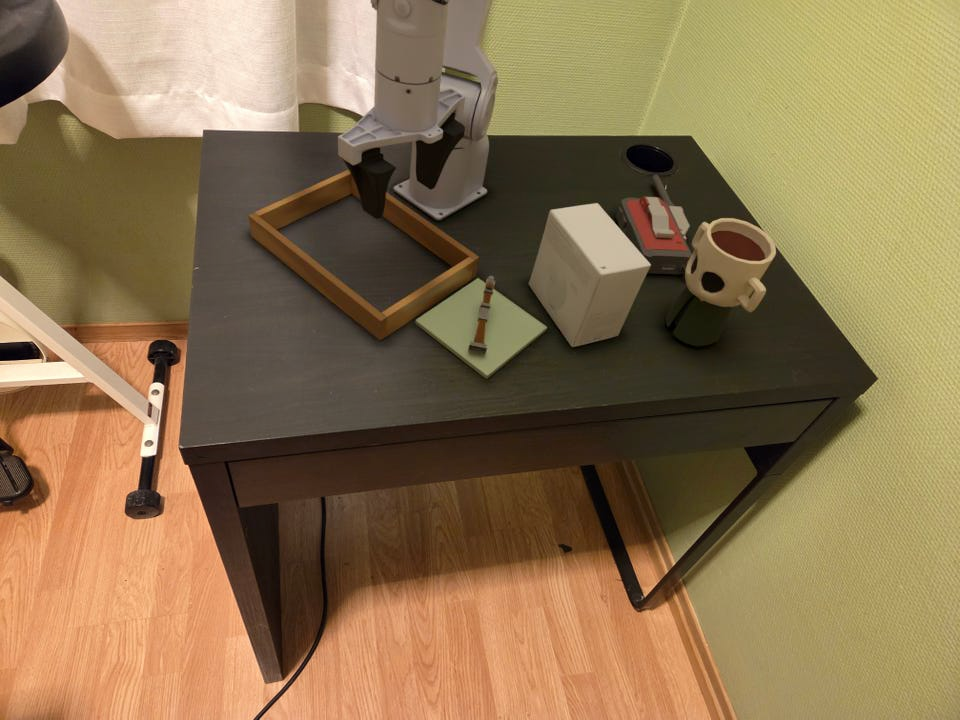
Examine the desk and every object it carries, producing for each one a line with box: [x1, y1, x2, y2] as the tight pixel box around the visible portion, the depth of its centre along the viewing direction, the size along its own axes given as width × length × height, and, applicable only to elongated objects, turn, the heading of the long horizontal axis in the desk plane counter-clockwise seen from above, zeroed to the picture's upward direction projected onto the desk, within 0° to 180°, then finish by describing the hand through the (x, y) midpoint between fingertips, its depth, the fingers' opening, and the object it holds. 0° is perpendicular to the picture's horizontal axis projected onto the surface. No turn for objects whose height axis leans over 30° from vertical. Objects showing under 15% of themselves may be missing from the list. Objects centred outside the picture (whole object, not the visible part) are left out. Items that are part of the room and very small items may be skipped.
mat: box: [414, 277, 548, 380], centre depth 70 cm, size 10×10×1 cm
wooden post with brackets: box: [468, 275, 496, 354], centre depth 69 cm, size 2×8×4 cm, turn 173°
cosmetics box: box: [527, 202, 651, 348], centre depth 70 cm, size 10×6×10 cm, turn 25°
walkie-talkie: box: [615, 174, 693, 276], centre depth 85 cm, size 9×4×20 cm
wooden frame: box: [248, 169, 480, 341], centre depth 74 cm, size 15×21×3 cm
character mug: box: [665, 217, 777, 347], centre depth 70 cm, size 11×7×13 cm, turn 21°
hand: (400, 198), depth 68 cm, fingers open, 7 cm apart
